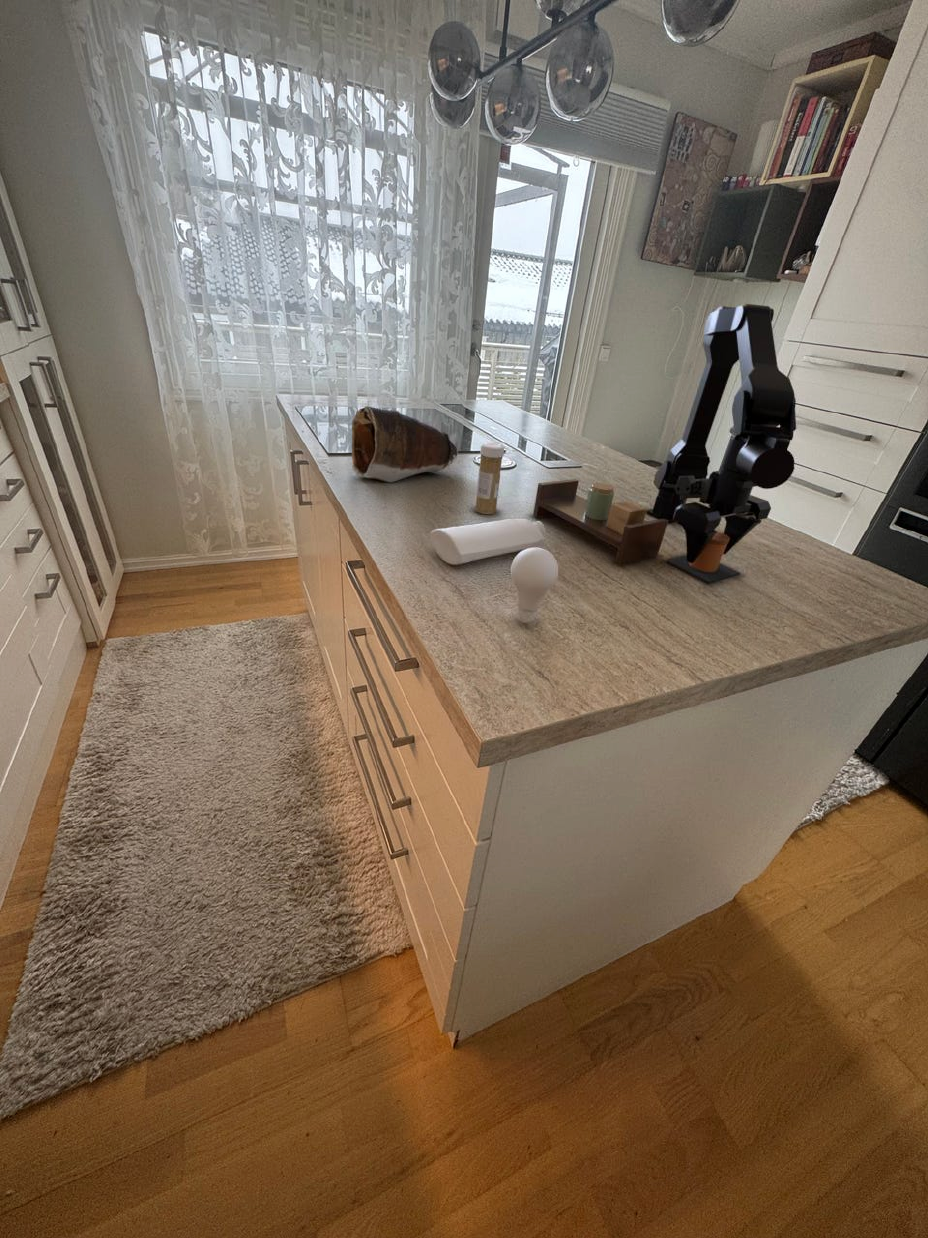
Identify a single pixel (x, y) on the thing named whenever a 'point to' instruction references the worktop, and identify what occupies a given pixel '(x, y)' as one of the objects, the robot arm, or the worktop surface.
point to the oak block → (625, 515)
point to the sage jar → (599, 501)
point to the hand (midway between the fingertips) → (706, 557)
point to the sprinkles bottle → (489, 477)
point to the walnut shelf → (599, 522)
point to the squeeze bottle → (486, 539)
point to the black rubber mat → (706, 577)
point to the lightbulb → (532, 580)
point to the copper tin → (711, 553)
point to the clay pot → (397, 446)
